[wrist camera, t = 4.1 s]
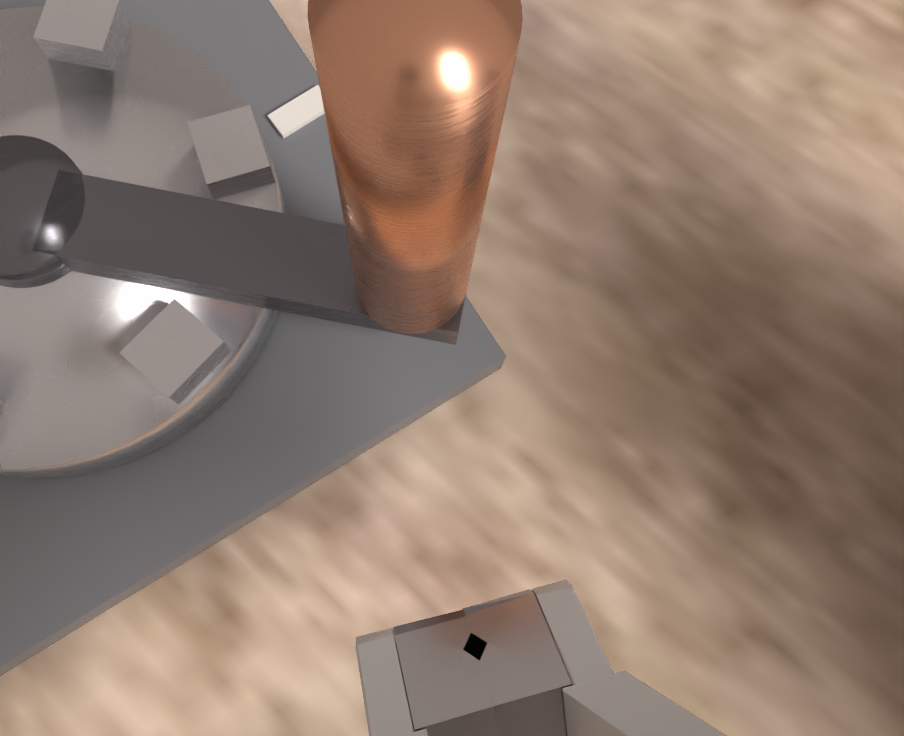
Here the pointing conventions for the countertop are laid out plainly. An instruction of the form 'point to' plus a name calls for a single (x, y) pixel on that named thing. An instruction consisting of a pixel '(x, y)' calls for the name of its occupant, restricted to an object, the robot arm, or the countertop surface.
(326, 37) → the crank turntable
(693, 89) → the countertop surface
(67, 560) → the base plate
